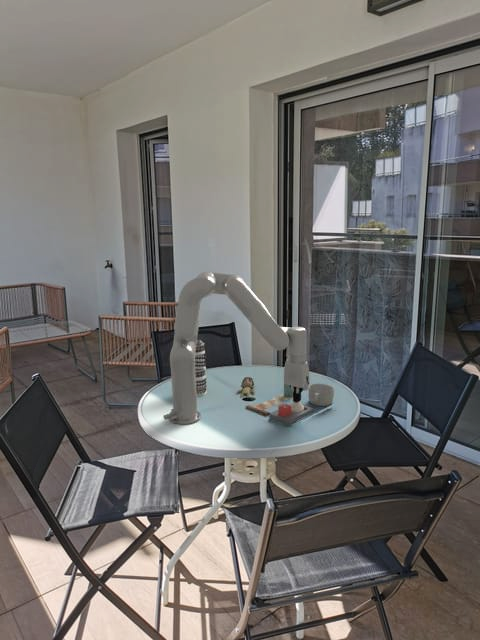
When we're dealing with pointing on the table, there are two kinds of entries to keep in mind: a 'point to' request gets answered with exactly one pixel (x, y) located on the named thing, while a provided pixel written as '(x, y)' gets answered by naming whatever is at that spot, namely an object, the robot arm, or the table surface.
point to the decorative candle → (200, 369)
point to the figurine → (247, 387)
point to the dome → (297, 407)
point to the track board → (262, 407)
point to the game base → (289, 414)
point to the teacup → (321, 394)
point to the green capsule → (287, 391)
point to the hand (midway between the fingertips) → (296, 401)
